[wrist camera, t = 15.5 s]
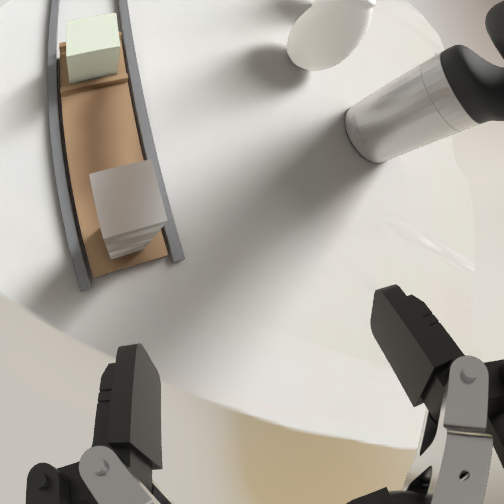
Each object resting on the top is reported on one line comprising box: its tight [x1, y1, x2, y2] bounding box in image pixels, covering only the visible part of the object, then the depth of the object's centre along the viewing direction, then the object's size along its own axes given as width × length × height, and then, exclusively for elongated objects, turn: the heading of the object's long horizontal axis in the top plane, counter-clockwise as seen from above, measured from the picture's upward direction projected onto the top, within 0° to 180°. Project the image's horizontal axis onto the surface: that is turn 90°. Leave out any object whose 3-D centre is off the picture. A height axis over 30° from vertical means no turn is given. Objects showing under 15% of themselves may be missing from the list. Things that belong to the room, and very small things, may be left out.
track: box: [48, 0, 185, 291], centre depth 26 cm, size 10×39×1 cm, turn 17°
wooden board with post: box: [59, 32, 168, 278], centre depth 20 cm, size 7×25×16 cm, turn 18°
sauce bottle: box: [287, 0, 376, 71], centre depth 30 cm, size 8×8×18 cm
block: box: [66, 13, 120, 85], centre depth 23 cm, size 5×5×5 cm
